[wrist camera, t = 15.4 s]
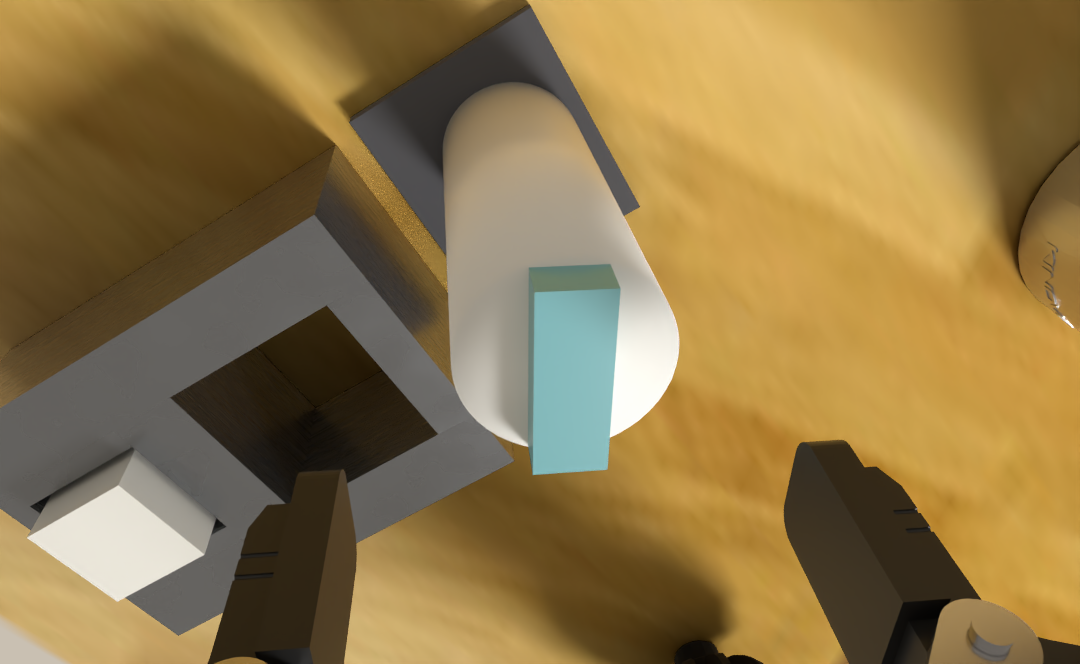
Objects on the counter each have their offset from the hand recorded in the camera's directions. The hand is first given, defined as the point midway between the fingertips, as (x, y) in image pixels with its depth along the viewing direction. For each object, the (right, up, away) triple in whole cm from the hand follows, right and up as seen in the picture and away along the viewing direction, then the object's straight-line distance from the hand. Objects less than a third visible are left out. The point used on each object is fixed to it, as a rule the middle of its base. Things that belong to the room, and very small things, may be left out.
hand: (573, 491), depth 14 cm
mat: (-2, +9, +14) cm, 17 cm away
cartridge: (-2, +9, +13) cm, 16 cm away
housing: (-11, +2, +17) cm, 21 cm away
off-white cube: (-15, -2, +16) cm, 22 cm away
